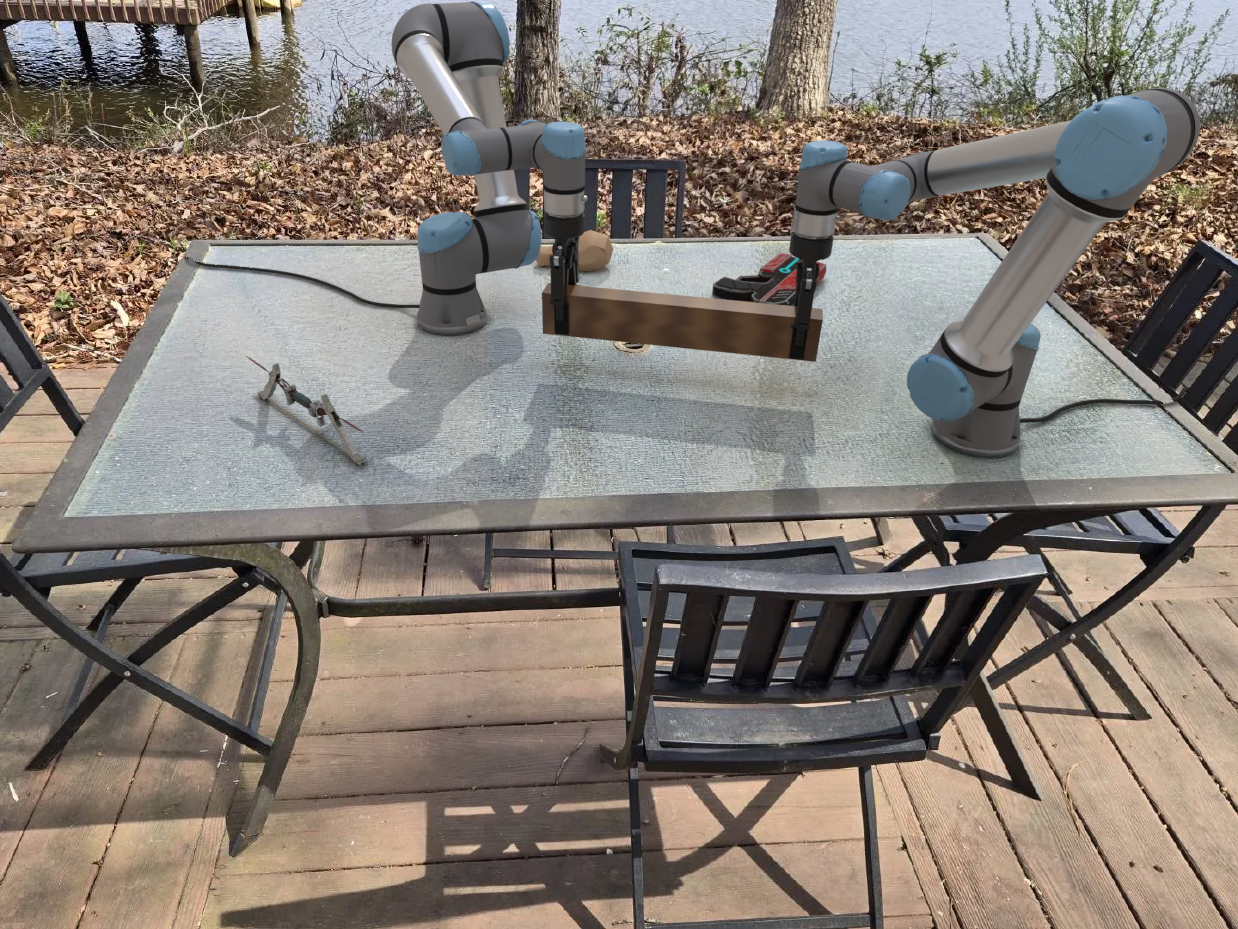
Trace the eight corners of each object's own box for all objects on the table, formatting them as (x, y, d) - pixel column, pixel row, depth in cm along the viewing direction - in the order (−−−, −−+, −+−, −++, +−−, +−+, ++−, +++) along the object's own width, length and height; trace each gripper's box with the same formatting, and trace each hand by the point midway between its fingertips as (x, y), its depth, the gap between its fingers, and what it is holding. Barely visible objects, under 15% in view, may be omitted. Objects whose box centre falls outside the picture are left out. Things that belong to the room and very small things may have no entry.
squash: (614, 275, 223) (610, 243, 217) (537, 282, 224) (531, 251, 218) (615, 253, 231) (611, 222, 224) (540, 260, 232) (534, 229, 226)
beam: (542, 333, 174) (541, 292, 169) (549, 323, 178) (548, 282, 173) (815, 362, 167) (822, 319, 162) (815, 350, 171) (822, 308, 166)
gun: (708, 284, 207) (784, 305, 199) (760, 245, 229) (831, 262, 221) (706, 302, 209) (781, 323, 201) (758, 261, 231) (828, 278, 223)
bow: (375, 468, 148) (367, 417, 142) (366, 472, 146) (358, 421, 141) (259, 389, 169) (248, 342, 163) (250, 392, 168) (239, 345, 162)
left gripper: (572, 230, 154) (572, 349, 167) (595, 199, 169) (593, 310, 182) (531, 226, 155) (534, 345, 168) (557, 195, 170) (558, 307, 183)
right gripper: (837, 252, 148) (817, 374, 161) (831, 218, 163) (813, 332, 176) (792, 249, 149) (776, 371, 162) (790, 215, 164) (776, 329, 177)
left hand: (565, 327), depth 175 cm, fingers closed on beam, 5 cm apart
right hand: (795, 350), depth 169 cm, fingers closed on beam, 5 cm apart
